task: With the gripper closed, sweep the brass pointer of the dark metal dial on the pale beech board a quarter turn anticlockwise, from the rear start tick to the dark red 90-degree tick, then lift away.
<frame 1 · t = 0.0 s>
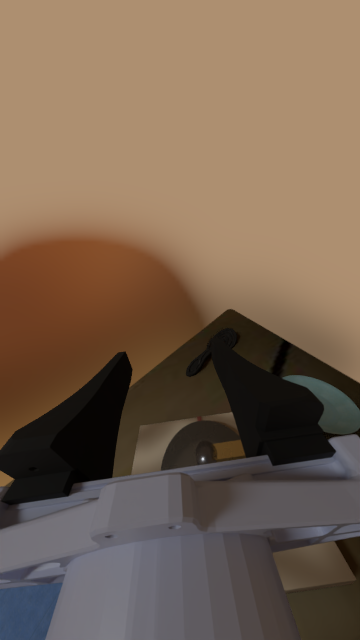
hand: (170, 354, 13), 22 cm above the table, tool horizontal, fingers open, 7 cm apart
saucer: (310, 407, 28), on the table
dial board: (209, 480, 21), on the table
hairbrush: (212, 353, 48), on the table
dial: (207, 463, 19), point 4 cm above the table, hinge at 0.0°
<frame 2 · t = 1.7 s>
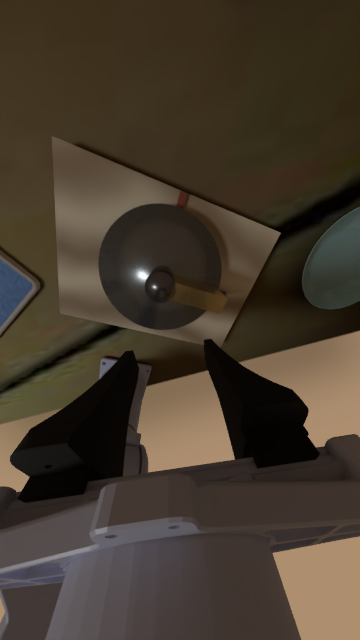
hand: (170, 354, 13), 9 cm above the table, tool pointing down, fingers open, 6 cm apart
saucer: (334, 260, 20), on the table
dial board: (163, 273, 19), on the table
dial: (161, 281, 15), point 4 cm above the table, hinge at 0.0°
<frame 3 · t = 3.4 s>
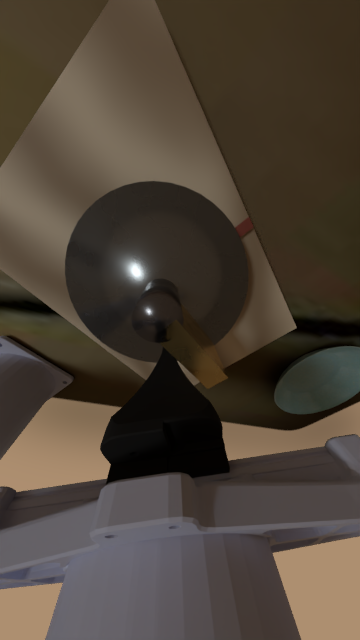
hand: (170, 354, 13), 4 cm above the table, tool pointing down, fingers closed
saucer: (307, 370, 21), on the table
dial board: (162, 286, 14), on the table
dial: (160, 303, 10), point 4 cm above the table, hinge at 0.1°, touching gripper
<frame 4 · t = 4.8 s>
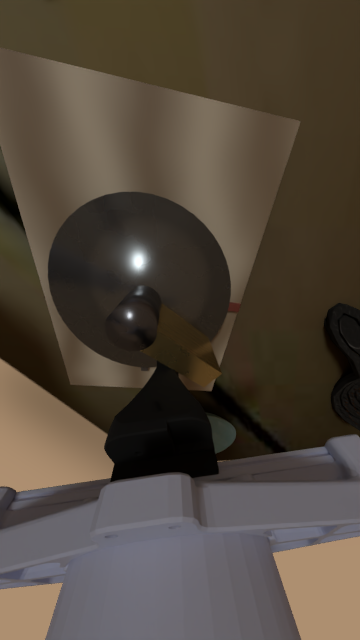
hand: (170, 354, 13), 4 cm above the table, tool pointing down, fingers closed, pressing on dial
saucer: (194, 422, 24), on the table
dial board: (149, 292, 14), on the table
hairbrush: (349, 369, 21), on the table
dial: (140, 311, 10), point 4 cm above the table, hinge at 57.4°, touching gripper
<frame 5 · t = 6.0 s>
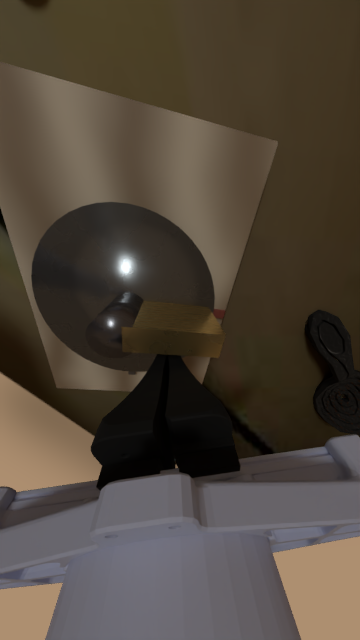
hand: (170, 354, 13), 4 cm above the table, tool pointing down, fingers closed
dial board: (136, 297, 14), on the table
hairbrush: (330, 372, 21), on the table
dial: (124, 317, 10), point 4 cm above the table, hinge at 91.2°
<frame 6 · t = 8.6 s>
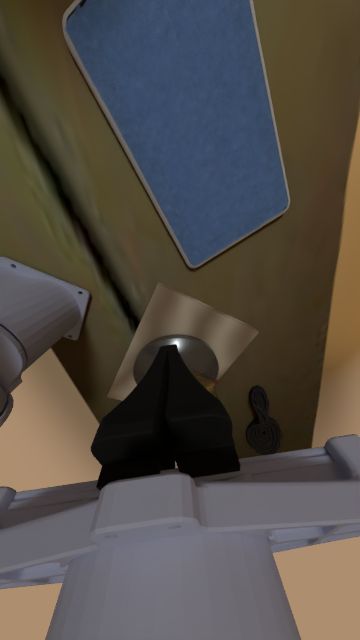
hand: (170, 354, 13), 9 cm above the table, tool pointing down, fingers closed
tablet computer: (197, 143, 14), on the table
dial board: (175, 360, 25), on the table
hairbrush: (258, 416, 36), on the table
dial: (177, 381, 21), point 4 cm above the table, hinge at 91.5°
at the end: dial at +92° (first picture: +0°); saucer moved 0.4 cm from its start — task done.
